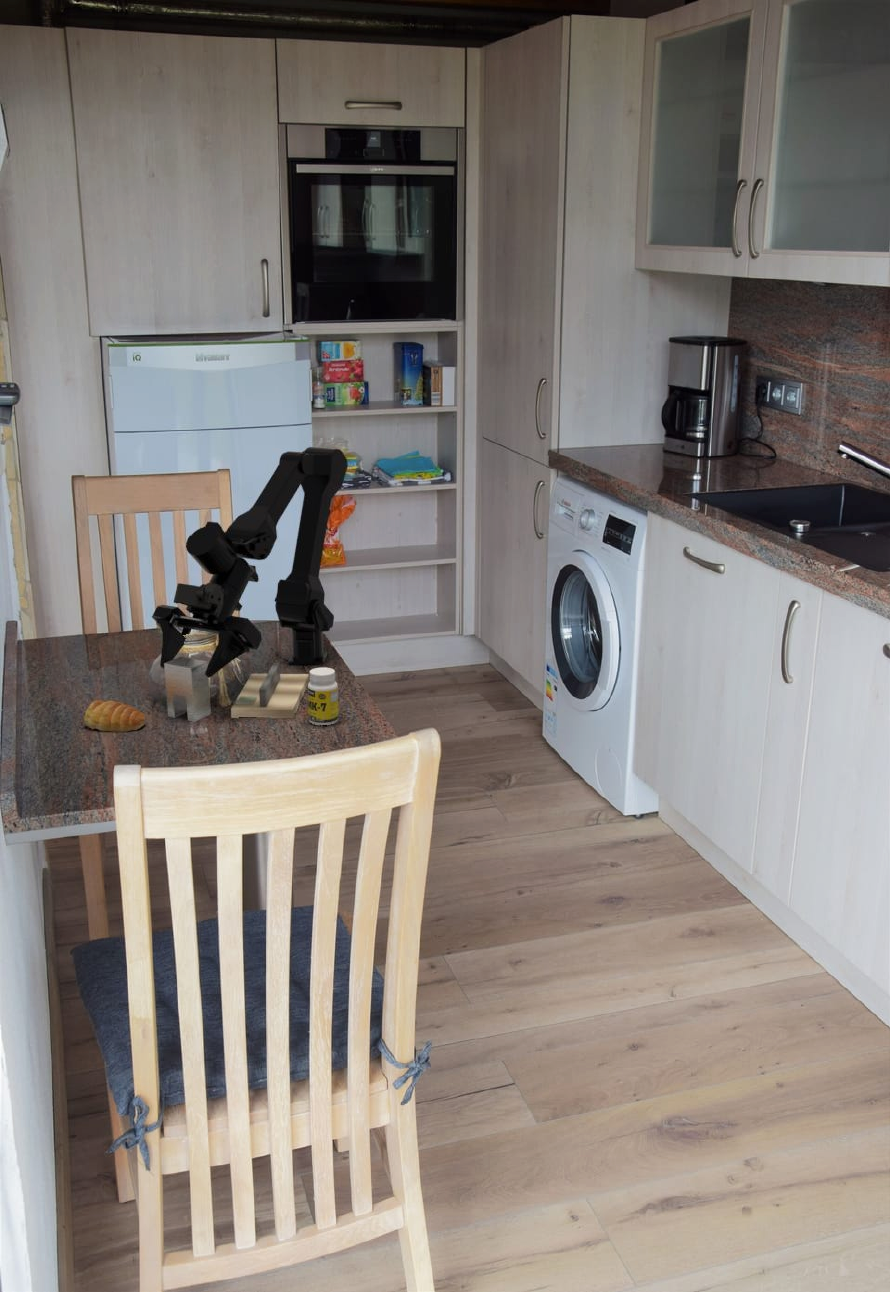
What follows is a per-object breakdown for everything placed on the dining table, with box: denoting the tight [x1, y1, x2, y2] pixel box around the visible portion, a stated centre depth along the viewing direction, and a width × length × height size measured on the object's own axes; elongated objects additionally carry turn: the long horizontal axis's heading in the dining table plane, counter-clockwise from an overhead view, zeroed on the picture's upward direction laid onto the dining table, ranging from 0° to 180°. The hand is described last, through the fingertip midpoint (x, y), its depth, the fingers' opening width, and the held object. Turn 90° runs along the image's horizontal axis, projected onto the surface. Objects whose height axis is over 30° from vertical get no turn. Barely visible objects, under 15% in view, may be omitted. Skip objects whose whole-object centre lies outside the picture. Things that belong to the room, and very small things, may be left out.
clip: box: [164, 656, 212, 723], centre depth 190 cm, size 4×6×9 cm
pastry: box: [83, 699, 147, 733], centre depth 187 cm, size 9×7×4 cm
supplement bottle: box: [307, 667, 339, 727], centre depth 188 cm, size 5×5×8 cm
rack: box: [230, 662, 310, 719], centre depth 198 cm, size 18×10×4 cm, turn 178°
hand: (184, 671), depth 189 cm, fingers open, 9 cm apart
